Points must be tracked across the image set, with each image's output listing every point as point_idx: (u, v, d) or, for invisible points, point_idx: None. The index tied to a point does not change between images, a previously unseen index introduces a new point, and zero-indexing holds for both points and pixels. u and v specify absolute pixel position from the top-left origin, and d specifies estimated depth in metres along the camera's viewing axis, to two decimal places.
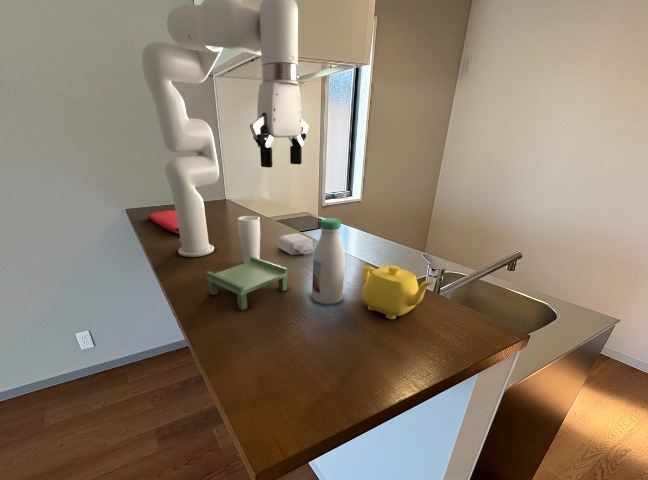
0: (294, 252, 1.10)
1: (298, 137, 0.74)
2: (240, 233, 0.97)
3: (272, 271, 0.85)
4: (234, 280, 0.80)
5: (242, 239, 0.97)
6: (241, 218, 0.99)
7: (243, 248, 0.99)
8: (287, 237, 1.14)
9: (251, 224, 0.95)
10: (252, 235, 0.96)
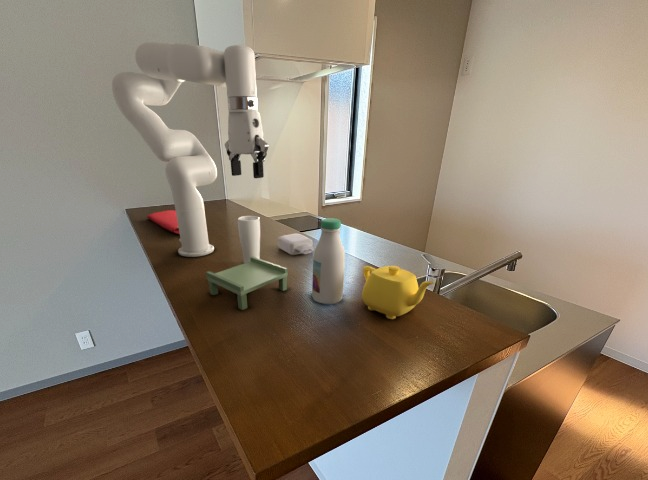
0: (294, 252, 1.10)
1: (252, 155, 0.84)
2: (240, 233, 0.97)
3: (272, 271, 0.85)
4: (234, 280, 0.80)
5: (242, 239, 0.97)
6: (241, 218, 0.99)
7: (243, 248, 0.99)
8: (287, 237, 1.14)
9: (251, 224, 0.95)
10: (252, 235, 0.96)
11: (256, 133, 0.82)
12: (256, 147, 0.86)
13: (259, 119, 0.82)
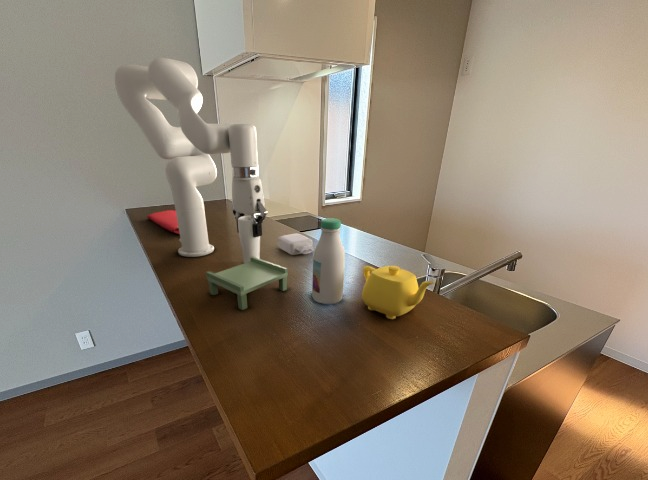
0: (294, 252, 1.10)
1: None
2: (240, 233, 0.97)
3: (272, 271, 0.85)
4: (234, 280, 0.80)
5: (242, 239, 0.97)
6: (241, 218, 0.99)
7: (243, 248, 0.99)
8: (287, 237, 1.14)
9: (251, 224, 0.95)
10: (252, 235, 0.96)
11: (258, 199, 0.91)
12: (257, 208, 0.94)
13: (260, 185, 0.91)
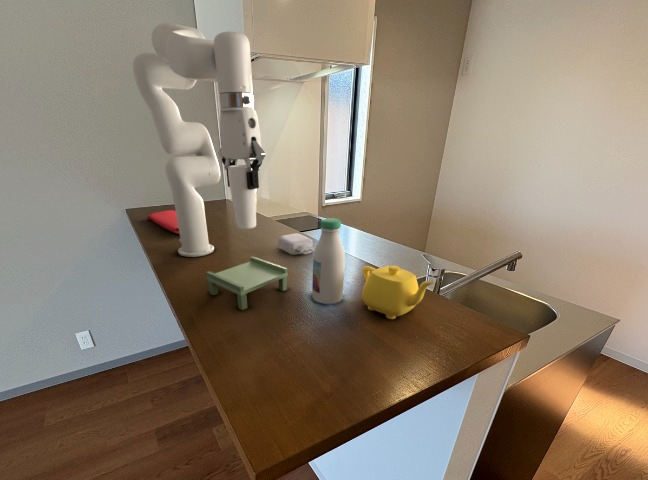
0: (294, 252, 1.10)
1: None
2: (231, 185, 0.77)
3: (272, 271, 0.85)
4: (234, 280, 0.80)
5: (234, 193, 0.78)
6: None
7: (235, 205, 0.79)
8: (287, 237, 1.14)
9: (245, 171, 0.75)
10: (246, 187, 0.77)
11: (253, 137, 0.71)
12: (253, 151, 0.74)
13: (256, 118, 0.71)
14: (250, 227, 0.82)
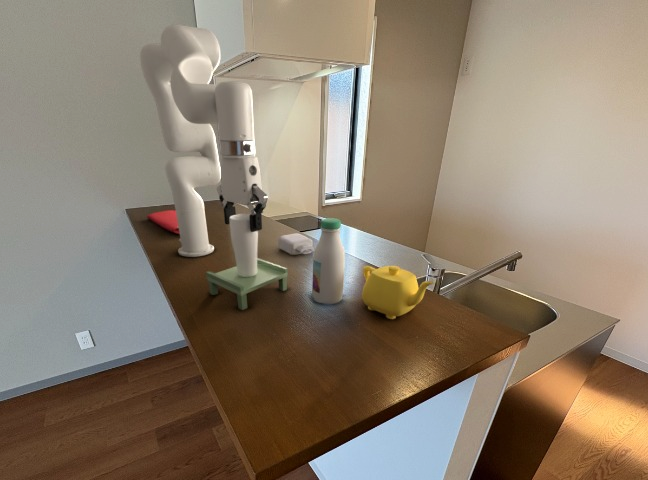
0: (294, 252, 1.10)
1: (248, 206, 0.72)
2: (232, 236, 0.77)
3: (272, 271, 0.85)
4: (234, 280, 0.80)
5: (235, 243, 0.77)
6: (234, 217, 0.78)
7: (236, 255, 0.79)
8: (287, 237, 1.14)
9: (247, 224, 0.74)
10: (247, 238, 0.76)
11: (253, 182, 0.70)
12: (253, 196, 0.73)
13: (257, 165, 0.70)
14: (251, 275, 0.81)
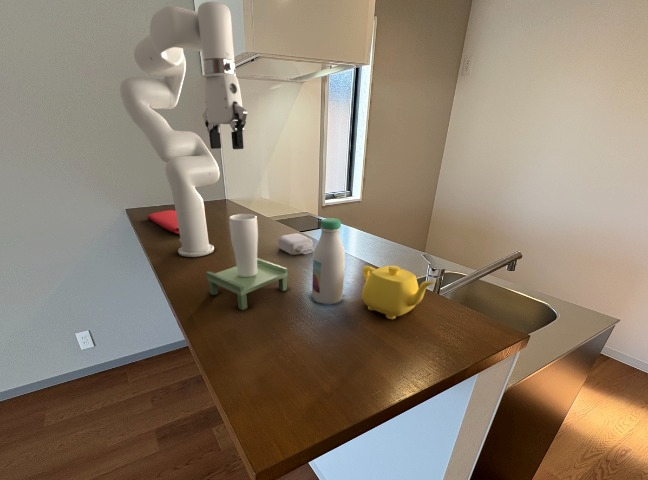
0: (294, 252, 1.10)
1: (230, 123, 0.79)
2: (232, 236, 0.77)
3: (272, 271, 0.85)
4: (234, 280, 0.80)
5: (235, 243, 0.77)
6: (234, 217, 0.78)
7: (236, 255, 0.79)
8: (287, 237, 1.14)
9: (246, 224, 0.74)
10: (247, 238, 0.76)
11: (234, 99, 0.77)
12: (235, 116, 0.81)
13: (237, 84, 0.77)
14: (251, 275, 0.81)
